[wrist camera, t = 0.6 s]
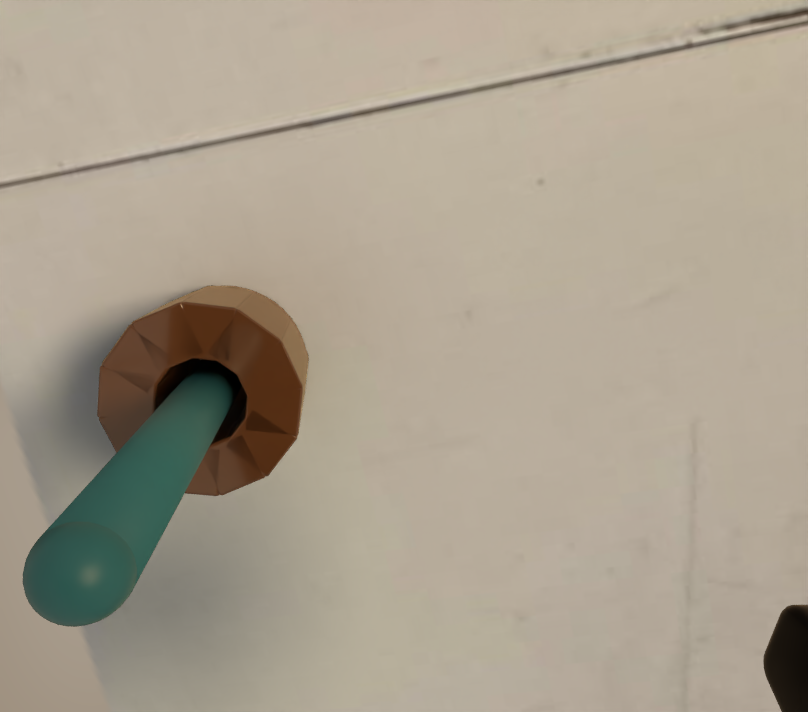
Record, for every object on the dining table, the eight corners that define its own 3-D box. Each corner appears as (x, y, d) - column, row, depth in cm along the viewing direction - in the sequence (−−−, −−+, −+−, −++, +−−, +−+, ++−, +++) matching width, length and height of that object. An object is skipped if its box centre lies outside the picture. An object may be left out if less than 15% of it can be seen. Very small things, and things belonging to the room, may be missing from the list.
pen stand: (332, 403, 22) (332, 449, 18) (189, 463, 22) (154, 525, 18) (268, 260, 21) (250, 272, 17) (117, 323, 21) (60, 351, 17)
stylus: (255, 379, 21) (140, 622, 9) (214, 396, 21) (37, 667, 9) (236, 338, 21) (87, 528, 8) (194, 356, 21) (-20, 574, 8)
